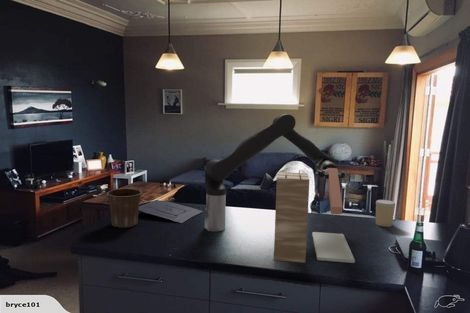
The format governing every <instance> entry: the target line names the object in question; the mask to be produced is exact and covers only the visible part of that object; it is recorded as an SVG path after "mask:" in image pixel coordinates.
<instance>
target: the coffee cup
mask: <svg viewBox="0 0 470 313" xmlns="http://www.w3.org/2000/svg"><path fill="white" fill-rule="evenodd" d="M395 208H396V203H395V201H393V200H389V199H377V200H376V201H375V225H378V226H380V227H387V228H388V227H389V228H390V227H393V226H392V225H393V222H394V214H395V210H396V209H395Z"/></svg>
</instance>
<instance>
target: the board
mask: <svg viewBox="0 0 470 313" xmlns="http://www.w3.org/2000/svg"><path fill="white" fill-rule="evenodd" d="M311 235H312V240H313V245H314V250H315V255H316V259H317V260H316V261H322V262H323V261H324V262H325V261H326V262H337V263H351V264H356V263H355V262H356V259H355V257H354V255H353V253H352V251H351V248H350V246H349V244H348V242H347V240H346V237H345V235H344V234H343V233H334V232H333V233H332V232H320V231H312V233H311Z"/></svg>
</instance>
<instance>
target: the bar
mask: <svg viewBox="0 0 470 313" xmlns="http://www.w3.org/2000/svg"><path fill="white" fill-rule="evenodd" d="M337 168H338V167H337ZM337 168H328V171H327V172H328V174H329V179H327V186H328V197H329V207H330V214H331V215H343V214H342V213H343V208H344V207H343V200H342V193H341V184H340V179H339V177H338V170H339V169H338V170H337Z"/></svg>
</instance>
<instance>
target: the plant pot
mask: <svg viewBox="0 0 470 313" xmlns="http://www.w3.org/2000/svg"><path fill="white" fill-rule="evenodd" d="M142 194H143V193H142V190H140V189H136V188H117V189H112V190H109V191H107V192H106V195H107V198H108V199H107V200H108V202H109V210H110V220H111V226H112V227H114V228H116V227H117V228H119V229H122V228H123V229H127V228H132V227H134V226H137V225H138V223H139V222H138V220H139V206H140V201H141V195H142Z"/></svg>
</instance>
